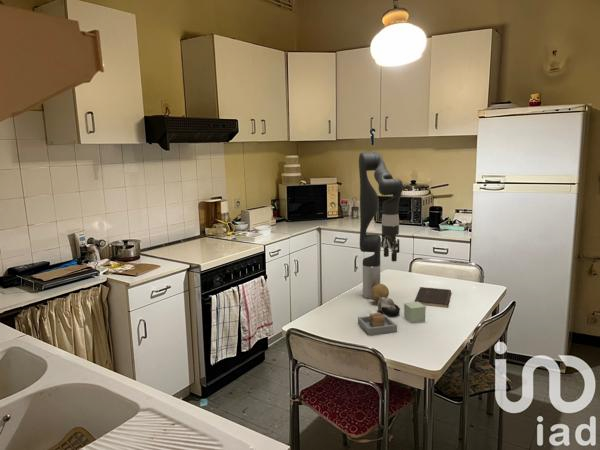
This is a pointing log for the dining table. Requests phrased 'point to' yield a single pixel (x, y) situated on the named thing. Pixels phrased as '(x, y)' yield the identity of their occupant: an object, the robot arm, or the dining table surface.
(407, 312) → the sage block
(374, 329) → the grey tray
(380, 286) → the natural sponge
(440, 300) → the hardcover book
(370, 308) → the dining table surface
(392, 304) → the caster wheel
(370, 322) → the walnut block
